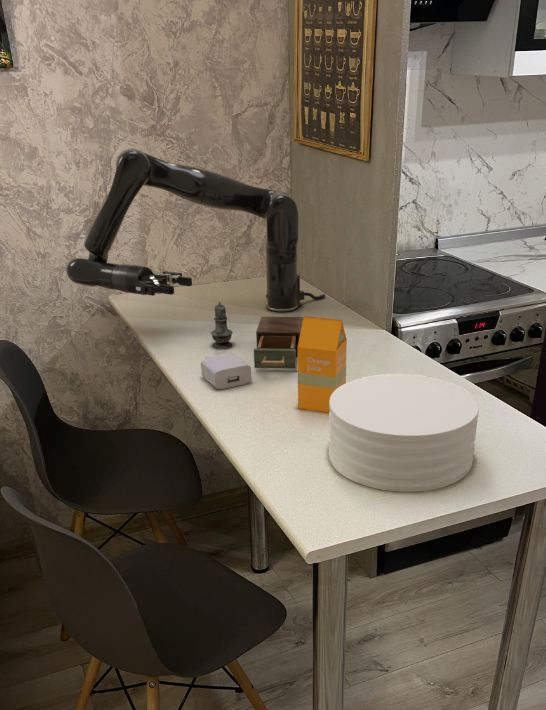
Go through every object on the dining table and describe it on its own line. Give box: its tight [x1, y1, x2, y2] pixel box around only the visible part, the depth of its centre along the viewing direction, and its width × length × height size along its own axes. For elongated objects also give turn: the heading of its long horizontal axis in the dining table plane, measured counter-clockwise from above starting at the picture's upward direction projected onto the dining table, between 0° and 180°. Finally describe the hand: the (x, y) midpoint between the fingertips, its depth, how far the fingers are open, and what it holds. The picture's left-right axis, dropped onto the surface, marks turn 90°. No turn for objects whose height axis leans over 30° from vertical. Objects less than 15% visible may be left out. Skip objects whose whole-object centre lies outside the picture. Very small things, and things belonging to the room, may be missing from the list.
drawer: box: [253, 335, 297, 370], centre depth 188 cm, size 16×10×5 cm, turn 176°
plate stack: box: [328, 373, 480, 493], centre depth 145 cm, size 28×28×12 cm
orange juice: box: [297, 315, 348, 414], centre depth 164 cm, size 8×9×20 cm
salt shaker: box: [210, 301, 234, 350], centre depth 200 cm, size 6×6×12 cm
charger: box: [200, 353, 252, 390], centre depth 183 cm, size 5×9×15 cm
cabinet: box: [255, 316, 304, 357], centre depth 199 cm, size 12×11×6 cm
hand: (182, 286), depth 200 cm, fingers open, 8 cm apart
